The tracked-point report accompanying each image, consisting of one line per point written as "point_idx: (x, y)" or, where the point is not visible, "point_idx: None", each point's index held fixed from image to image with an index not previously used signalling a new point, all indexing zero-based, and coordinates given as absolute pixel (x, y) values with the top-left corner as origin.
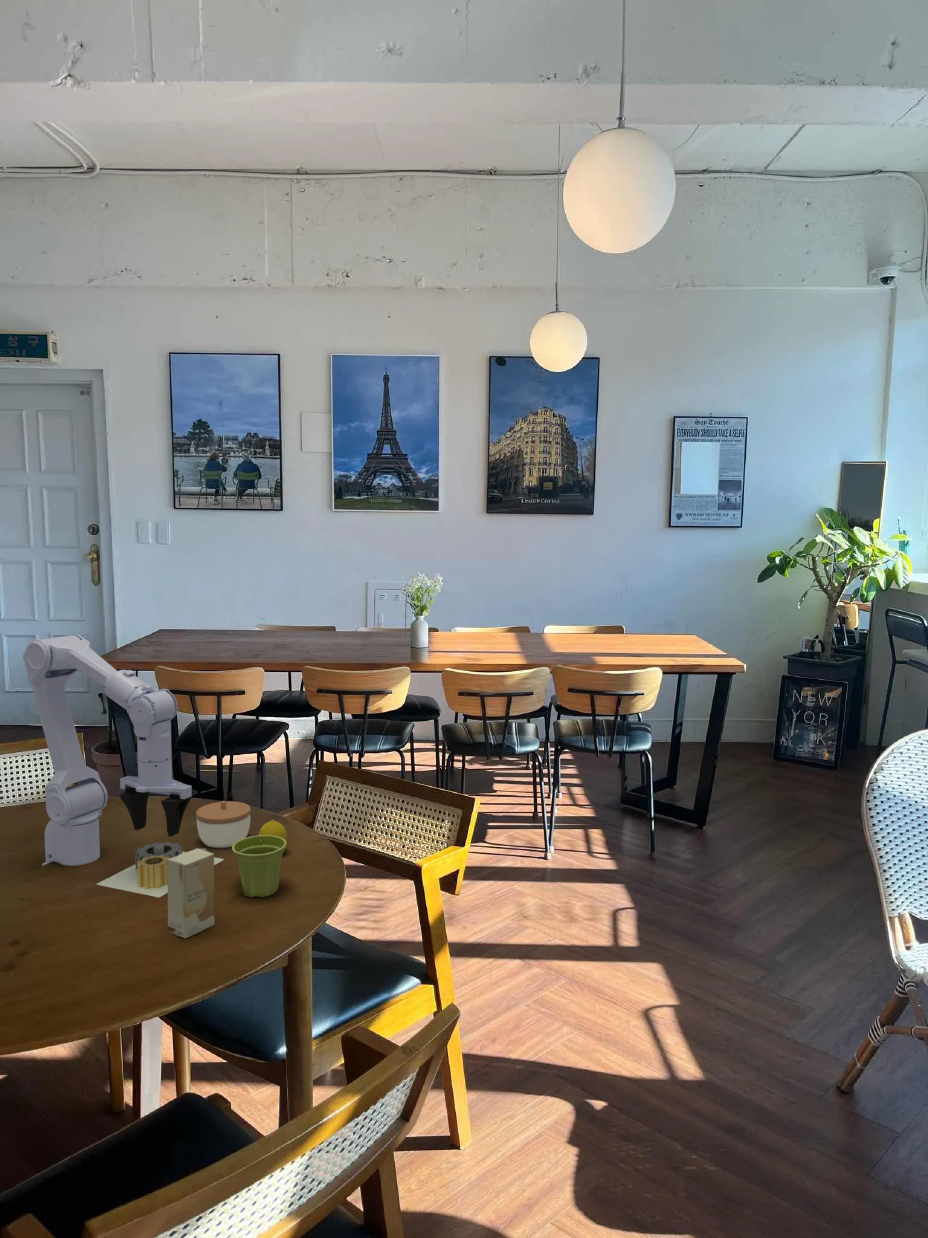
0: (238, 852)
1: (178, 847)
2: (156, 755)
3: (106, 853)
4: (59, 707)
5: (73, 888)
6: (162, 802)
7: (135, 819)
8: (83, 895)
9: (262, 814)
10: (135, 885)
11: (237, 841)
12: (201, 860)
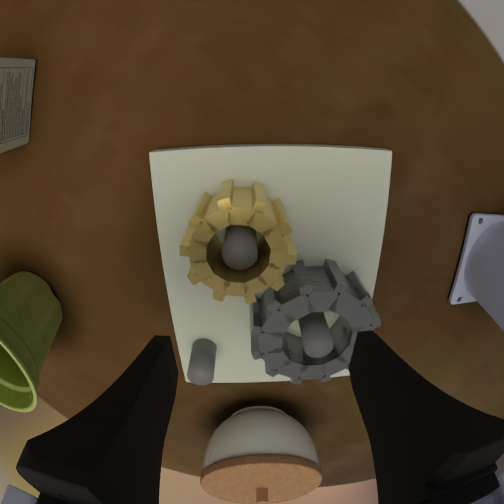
0: None
1: (274, 369)
2: None
3: (465, 316)
4: None
5: (442, 144)
6: (77, 476)
7: (379, 365)
8: (395, 115)
9: None
10: (277, 185)
11: (25, 376)
12: None
